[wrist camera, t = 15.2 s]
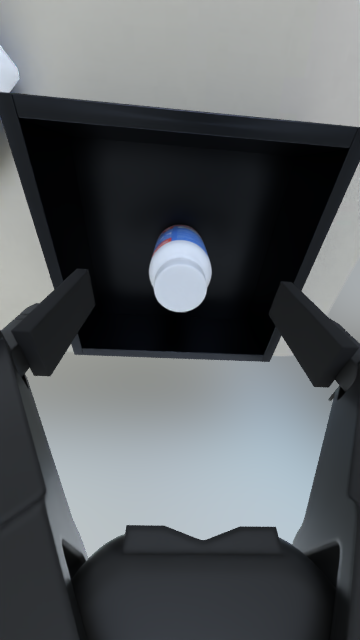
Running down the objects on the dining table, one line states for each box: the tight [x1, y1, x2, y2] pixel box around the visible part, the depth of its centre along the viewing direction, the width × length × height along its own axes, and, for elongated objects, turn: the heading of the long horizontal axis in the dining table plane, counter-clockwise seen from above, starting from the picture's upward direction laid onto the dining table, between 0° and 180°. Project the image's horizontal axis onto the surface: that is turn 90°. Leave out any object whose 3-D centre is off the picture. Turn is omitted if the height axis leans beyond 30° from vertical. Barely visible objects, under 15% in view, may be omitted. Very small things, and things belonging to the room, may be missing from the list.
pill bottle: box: [149, 225, 212, 312], centre depth 19 cm, size 6×5×10 cm
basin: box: [0, 92, 360, 362], centre depth 21 cm, size 22×20×8 cm
